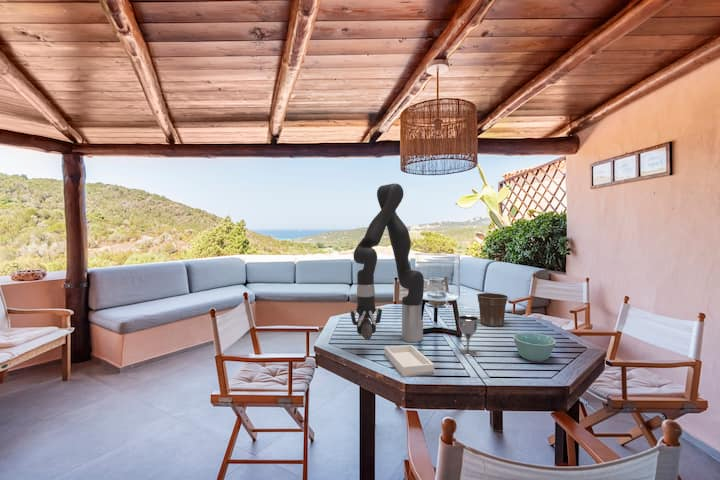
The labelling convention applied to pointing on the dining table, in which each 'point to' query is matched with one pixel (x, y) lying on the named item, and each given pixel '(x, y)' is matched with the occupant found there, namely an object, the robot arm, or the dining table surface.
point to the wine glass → (468, 331)
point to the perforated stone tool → (366, 329)
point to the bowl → (534, 346)
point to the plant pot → (492, 309)
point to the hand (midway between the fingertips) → (366, 333)
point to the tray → (409, 361)
